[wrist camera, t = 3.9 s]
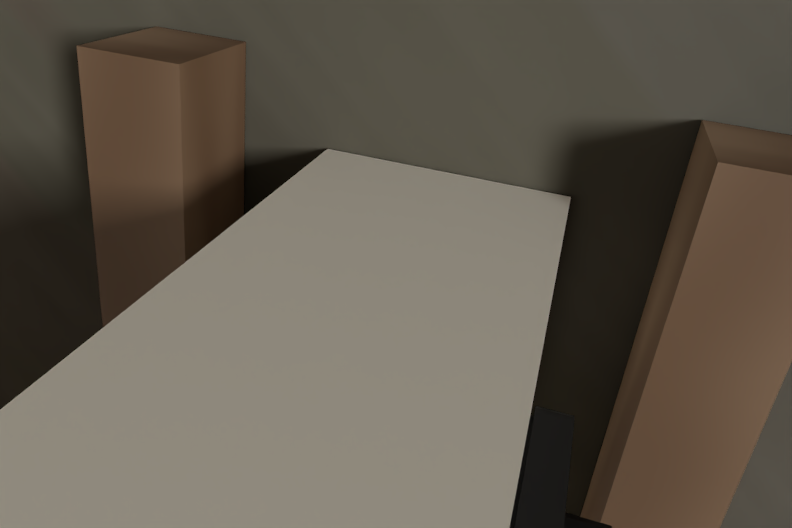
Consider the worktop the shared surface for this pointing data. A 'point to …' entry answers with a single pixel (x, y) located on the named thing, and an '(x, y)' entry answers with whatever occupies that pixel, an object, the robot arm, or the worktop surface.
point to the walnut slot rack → (661, 319)
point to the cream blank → (308, 367)
